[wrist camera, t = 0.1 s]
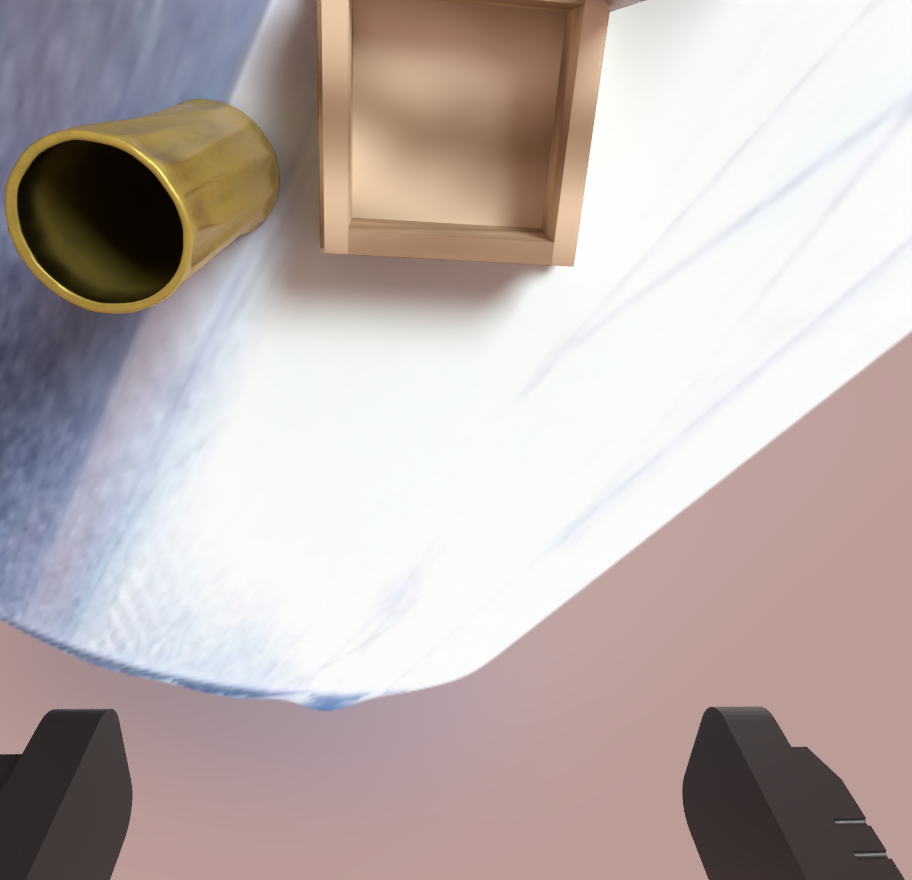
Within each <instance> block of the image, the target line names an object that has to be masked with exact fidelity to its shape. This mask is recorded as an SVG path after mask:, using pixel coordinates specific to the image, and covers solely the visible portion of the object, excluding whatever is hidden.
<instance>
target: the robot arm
mask: <svg viewBox="0 0 912 880" xmlns="http://www.w3.org/2000/svg"><path fill="white" fill-rule="evenodd" d="M682 793H683V806H684V812H685V817H686V820H687V824H688V827H689V830H690V832H691V835H692V837H693V840H694V842H695V845H696V848H697V851H698V853H699V855H700V858H701V861H702V863H703V866H704V868H705V871H706V874H707V876H708V879H709V880H904V878H903V876H902V874H901V873H900V871H899V870H898V868H897V867H896V865H895V863H894V862H893V860H892V859H888V857H887V855H886V849H885V848H884V846H883V844H882V843H881V841H880V840H879V838H878V837H877V835H876V834H875V832H874V830H873V829H872V827H871V826H868V825H867V824H866V821H865V819H866V817H865V816H864V815H863V813H862V811H861V810H860V808H859V806H858V805H857V803H856V802H855V800H854V799H853V797H852V796H851V794H850V793H849V791H848V789H847V787H846V786H845V784H844V783H843V781H842V780H841V779H840V778H839V777H838V776H837V775H836V774H835V773H834V772H833V771H832V770H831V769H830V768H829V767H828V766H827V765H825V764H824V763H823V762H822V761H821V760H820V759H819V758H818V757H817V756H816V755H815V754H813V752H811V751H810V750H809V749H808V748H807V747H791V746H790V744H789V742H788V741H787V739H786V737H785V736H784V734H783V732H782V731H781V729H780V727H779V725H778V724H777V722H776V720H775V719H774V717H773V716H772V714H771V713H770V712H769V711H768V710H767V709H765V708H763V707H709V708H708V709H707V710H706V711H705V713H704V714H703V717H702V720H701V723H700V727H699V730H698V733H697V737H696V740H695V743H694V746H693V749H692V753H691V756H690V759H689V763H688V766H687V769H686V772H685V776H684V780H683V790H682ZM131 807H132V783H131V778H130V773H129V768H128V763H127V758H126V753H125V748H124V743H123V738H122V733H121V728H120V723H119V718H118V715H117V713H116V711H115V710H113V709H54V710H51V711H49V712H48V713H47V714H46V715H45V716H44V717H43V719H42V720H41V722H40V724H39V725H38V727H37V729H36V730H35V732H34V734H33V736H32V738H31V739H30V741H29V743H28V745H27V747H26V748H25V750H24V752H23V754H9V755H8V754H7V755H0V880H110V878H111V875H112V872H113V870H114V867H115V864H116V861H117V859H118V856H119V853H120V850H121V848H122V844H123V842H124V839H125V836H126V833H127V829H128V825H129V820H130V815H131Z"/></svg>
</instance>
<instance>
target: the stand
mask: <svg viewBox="0 0 912 880" xmlns="http://www.w3.org/2000/svg"><path fill="white" fill-rule="evenodd" d="M642 1H645V0H317V51H318V118H319V185H320V248H325V253H332V254H351V255H370V256H388V257H407V258H425V259H444V260H462V261H481V262H500V263H518V264H537V265H555V266H574V259H575V252H576V245H577V238H578V231H579V224H580V217H581V210H582V203H583V195H584V188H585V181H586V174H587V167H588V160H589V153H590V146H591V139H592V132H593V125H594V118H595V111H596V104H597V97H598V90H599V83H600V76H601V69H602V62H603V54H604V47H605V40H606V33H607V26H608V19H609V12H611V11H614V10H617V9H620V8H623V7H626V6H629V5H632V4H636V3H639V2H642Z"/></svg>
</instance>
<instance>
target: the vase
mask: <svg viewBox="0 0 912 880" xmlns="http://www.w3.org/2000/svg"><path fill="white" fill-rule="evenodd" d="M278 187H279V172H278V165H277V161H276V156H275V153H274V151H273V148H272V146H271V145H270V143H269V141H268V140H267V138H266V137H265V135H264V134H263V132H262V131H261V130H260V128H259V127H258V126H257V124H256V123H255V122H254V121H253V120H252V119H250V118H249V117H248V116H247V115H245V114H244V113H243V112H241V111H239V110H238V109H236V108H235V107H232V106H230V105H228V104H226V103H222V102H219V101H214V100H205V99H195V100H188V101H185V102H183V103H180V104H178V105H176V106H173V107H170V108H167V109H164V110H161V111H159V112H156V113H153V114H150V115H147V116H143V117H139V118H135V119H128V120H119V121H111V122H103V123H96V124H88V125H81V126H76V127H72V128H69V129H66V130H63V131H59V132H55V133H52V134H49V135H47V136H45V137H43V138H41V139H39V140H37V141H36V142H34V143H33V144H31V145H30V146H29V147H28V148H27V149H26V150H25V151H24V152H23V153H22V155H21V156H20V158H19V159H18V161H17V163H16V164H15V166H14V168H13V169H12V171H11V174H10V176H9V178H8V180H7V184H6V189H5V211H6V219H7V225H8V230H9V233H10V235H11V238H12V240H13V242H14V245H15V247H16V250H17V252H18V254H19V255H20V256H21V258H22V259H23V261H24V262H25V264H26V265H27V267H28V268H29V269H30V270H31V272H32V273H33V274H34V275H35V276H36V277H37V279H38V280H40V281H41V282H42V283H43V284H44V285H45V286H46V287H47V288H49V289H50V290H51V291H53V292H54V293H55V294H57V295H58V296H60V297H62V298H63V299H65V300H67V301H69V302H71V303H73V304H75V305H77V306H79V307H81V308H84V309H87V310H89V311H93V312H99V313H110V314H126V313H132V312H137V311H140V310H143V309H146V308H148V307H151V306H153V305H156V304H158V303H160V302H162V301H164V300H165V299H167V298H169V297H170V296H171V295H172V294H173V293H174V292H175V291H176V290H177V288H178V287H179V286H180V285H181V284H182V283H183V282H184V281H186V280H187V279H188V278H189V277H191V276H192V275H193V274H194V273H196V272H197V271H198V270H199V269H201V268H202V267H203V266H204V265H205V264H207V263H208V262H209V261H210V260H211V259H212V258H214V257H215V256H216V255H217V254H218V253H219V252H220V251H221V250H222V249H224V248H225V247H227V246H228V245H230V244H231V243H232V242H233V241H234V240H235V239H236V238H237V237H240V236H243V235H245V234H248V233H249V232H251V231H253V230H254V229H255V228H257V227H258V226H259V225H260V224H261V223H262V222H263V221H264V220H265V219H266V218H267V216H268V215H269V213H270V212H271V210H272V208H273V205H274V203H275V200H276V197H277V193H278Z"/></svg>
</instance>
